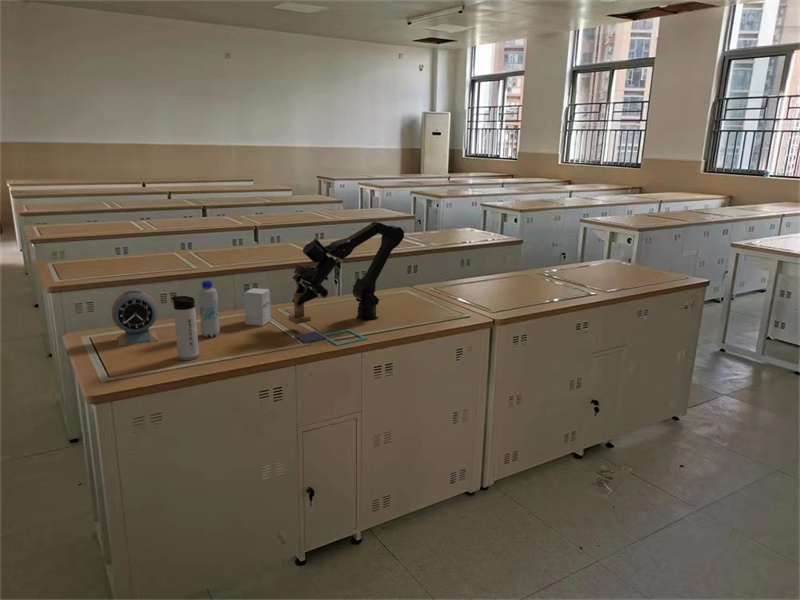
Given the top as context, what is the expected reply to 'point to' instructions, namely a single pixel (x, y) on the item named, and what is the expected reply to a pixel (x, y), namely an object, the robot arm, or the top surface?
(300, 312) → the stamp
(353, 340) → the frame
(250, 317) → the supplement box
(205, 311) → the bottle
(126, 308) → the alarm clock
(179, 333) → the travel mug
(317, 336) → the ink pad
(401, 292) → the top surface
